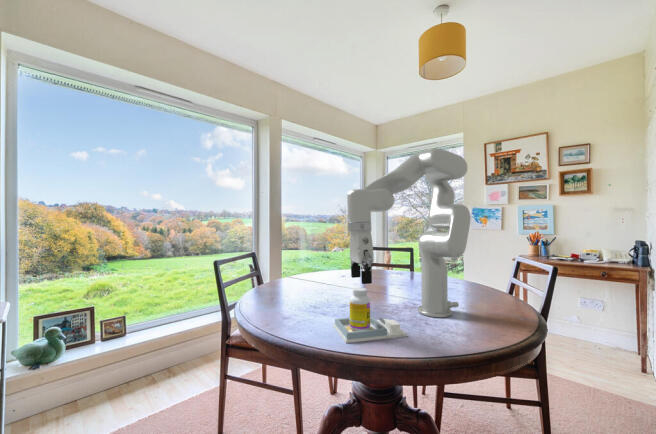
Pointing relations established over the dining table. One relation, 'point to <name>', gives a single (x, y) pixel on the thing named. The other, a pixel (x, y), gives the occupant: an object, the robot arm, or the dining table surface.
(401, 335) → the charging dock
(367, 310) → the supplement bottle
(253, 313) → the dining table surface
